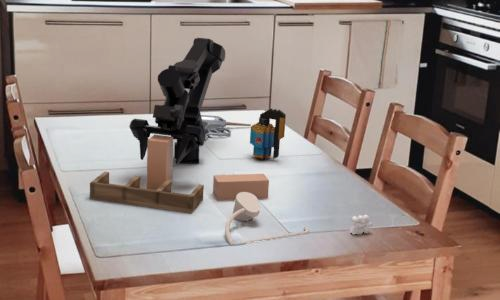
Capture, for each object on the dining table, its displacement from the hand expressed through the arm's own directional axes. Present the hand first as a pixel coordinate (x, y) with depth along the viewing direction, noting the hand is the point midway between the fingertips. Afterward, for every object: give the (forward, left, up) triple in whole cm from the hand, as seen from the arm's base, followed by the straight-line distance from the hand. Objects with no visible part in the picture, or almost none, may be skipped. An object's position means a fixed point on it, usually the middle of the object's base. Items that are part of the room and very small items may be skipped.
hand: (159, 161), depth 206 cm
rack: (+3, +8, -7) cm, 11 cm away
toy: (-31, -27, -7) cm, 42 cm away
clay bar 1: (0, -1, -7) cm, 7 cm away
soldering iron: (-15, -50, -8) cm, 53 cm away
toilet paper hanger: (-23, +23, -8) cm, 33 cm away
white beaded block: (-47, +26, -7) cm, 54 cm away
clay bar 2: (-21, +4, -7) cm, 22 cm away
